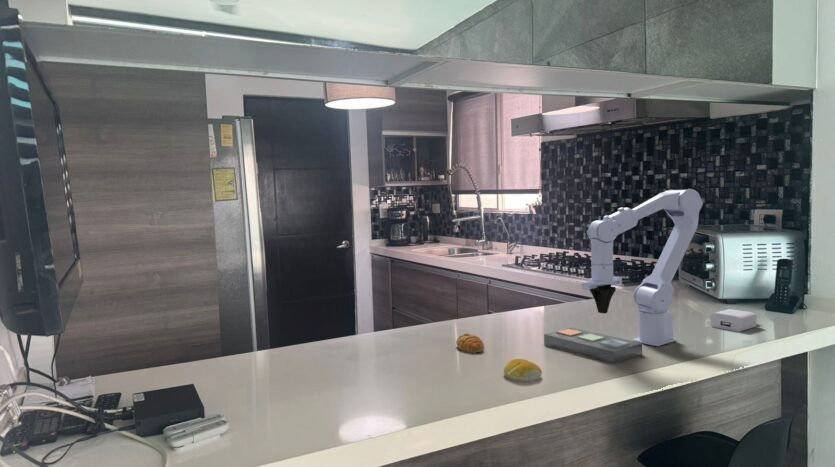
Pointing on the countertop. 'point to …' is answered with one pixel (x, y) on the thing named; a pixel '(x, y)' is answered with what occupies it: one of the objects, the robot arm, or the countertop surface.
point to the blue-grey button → (614, 343)
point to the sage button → (591, 338)
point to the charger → (733, 320)
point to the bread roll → (522, 370)
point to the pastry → (470, 343)
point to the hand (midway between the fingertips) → (602, 312)
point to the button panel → (593, 346)
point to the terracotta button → (569, 332)
